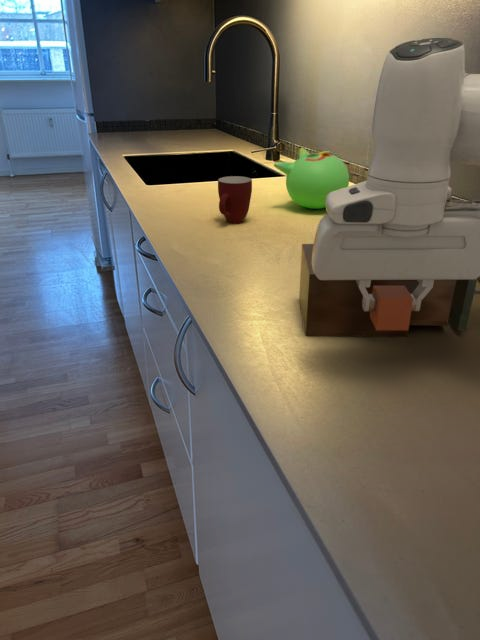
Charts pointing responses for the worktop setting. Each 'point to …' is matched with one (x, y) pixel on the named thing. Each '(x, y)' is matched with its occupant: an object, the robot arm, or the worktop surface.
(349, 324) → the cabinet
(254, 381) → the worktop surface
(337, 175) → the toy bird
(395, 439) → the worktop surface
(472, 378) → the worktop surface
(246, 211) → the mug
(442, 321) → the drawer
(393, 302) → the block
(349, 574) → the worktop surface
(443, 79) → the robot arm
